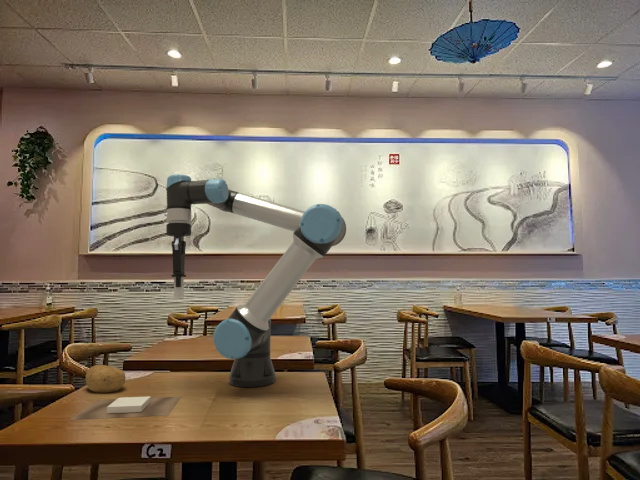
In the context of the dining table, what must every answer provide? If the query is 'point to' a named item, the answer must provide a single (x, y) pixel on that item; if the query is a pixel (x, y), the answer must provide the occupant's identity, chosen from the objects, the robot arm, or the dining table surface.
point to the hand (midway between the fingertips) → (178, 297)
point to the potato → (104, 378)
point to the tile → (128, 404)
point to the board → (154, 408)
